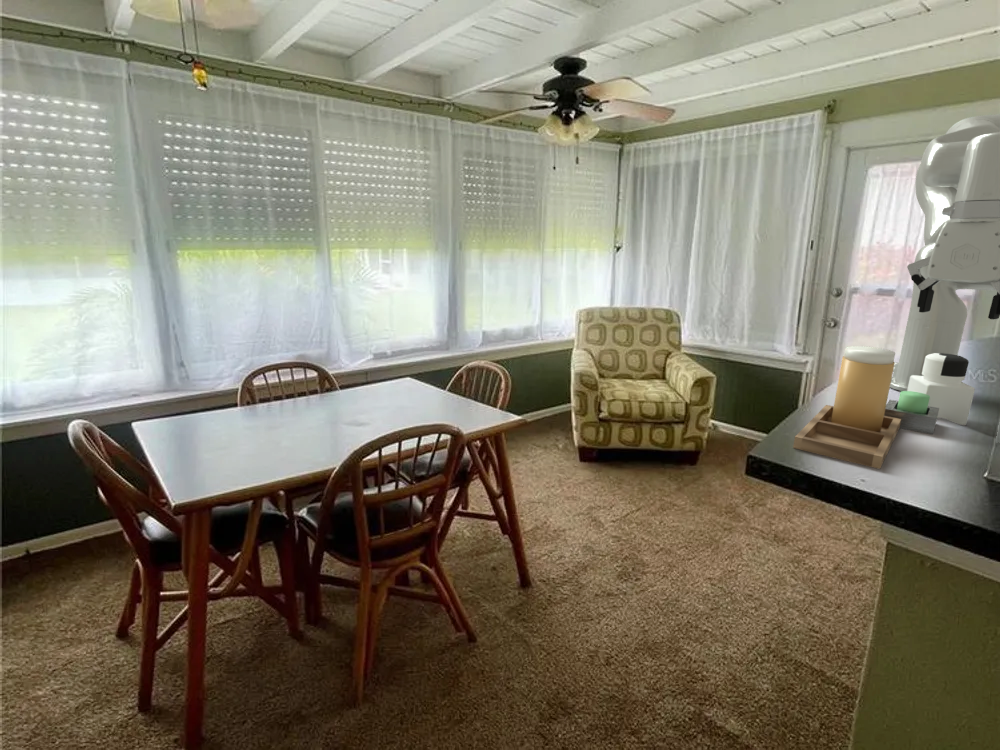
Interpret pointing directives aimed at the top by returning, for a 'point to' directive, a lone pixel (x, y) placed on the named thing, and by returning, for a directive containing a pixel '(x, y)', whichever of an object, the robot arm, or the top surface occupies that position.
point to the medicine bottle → (945, 386)
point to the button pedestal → (913, 418)
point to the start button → (913, 402)
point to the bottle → (863, 387)
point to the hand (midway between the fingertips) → (957, 315)
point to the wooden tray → (847, 439)
